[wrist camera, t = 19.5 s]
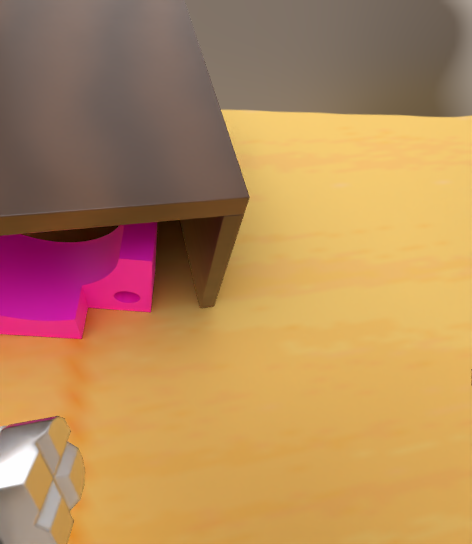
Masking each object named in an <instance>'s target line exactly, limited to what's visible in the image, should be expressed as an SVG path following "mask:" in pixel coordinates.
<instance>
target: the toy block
mask: <svg viewBox="0 0 472 544" xmlns="http://www.w3.org/2000/svg"><path fill="white" fill-rule="evenodd" d="M156 241H157V222H150V223H139V224H128V225H119V226H118V227H117V228H116V229H115V230H114V231H113V232H111V233H109V234H107V235H105V236H103V237H100V238H97V239H94V240H89V241H83V242H55V241H47V240H42V239H37V238H33V237H29V236H25V235H22V234H15V235H4V236H0V334H8V335H24V336H41V337H58V338H74V339H82V336H83V330H84V325H85V320H86V315H87V309H88V308H100V309H113V310H127V311H141V312H151V306H152V296H153V287H154V278H155V265H156Z"/></svg>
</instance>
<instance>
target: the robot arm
mask: <svg viewBox="0 0 472 544" xmlns="http://www.w3.org/2000/svg"><path fill="white" fill-rule="evenodd" d="M471 385H472V370H471ZM70 432H71V430H70V428H69V426H68V424H67V422H66V421H65V419H64V418H62V417H59V416H55V417H50V418H44V419H39V420H33V421H27V422H22V423H16V424H10V425H8V426H0V544H67V543H68V540H69V536H70V533H71V530H72V527H73V523H74V520H73V518H72V516H71V514H70V512H69V511H70V510H71V509H72V508H73V507H74V506H75V505H76V504H77V503H78V502H79V500H80V499H81V496H82V492H83V489H84V482H85V467H84V462H83V458H82V455H81V453H80V451H79V448H77V447H76V446H74V445H72V444H71V443H69V442H67V440H68V438H69V435H70Z"/></svg>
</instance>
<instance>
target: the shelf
mask: <svg viewBox="0 0 472 544" xmlns="http://www.w3.org/2000/svg"><path fill="white" fill-rule="evenodd" d="M248 200H249V194H248V191H247V188H246V185H245V182H244V179H243V176H242V173H241V170H240V167H239V164H238V161H237V158H236V155H235V152H234V149H233V146H232V143H231V140H230V137H229V134H228V131H227V127H226V124H225V121H224V118H223V115H222V112H221V109H220V106H219V103H218V100H217V97H216V94H215V91H214V88H213V85H212V82H211V79H210V76H209V73H208V70H207V67H206V64H205V61H204V58H203V55H202V52H201V49H200V46H199V43H198V40H197V37H196V34H195V31H194V27H193V24H192V21H191V18H190V15H189V12H188V9H187V7H186V3H185V1H184V0H0V236H4V235H15V234H27V233H38V232H49V231H60V230H71V229H83V228H94V227H105V226H116V225H128V224H139V223H150V222H161V221H172V220H180V223H181V228H182V232H183V237H184V241H185V246H186V250H187V254H188V259H189V263H190V268H191V272H192V276H193V281H194V285H195V290H196V294H197V298H198V303H199V307H200V308H206V307H213V306H214V305H215V302H216V299H217V296H218V293H219V290H220V286H221V283H222V280H223V277H224V274H225V271H226V268H227V265H228V262H229V259H230V256H231V253H232V250H233V246H234V243H235V240H236V237H237V234H238V231H239V228H240V225H241V222H242V219H243V216H244V213H245V210H246V206H247V203H248Z"/></svg>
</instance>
